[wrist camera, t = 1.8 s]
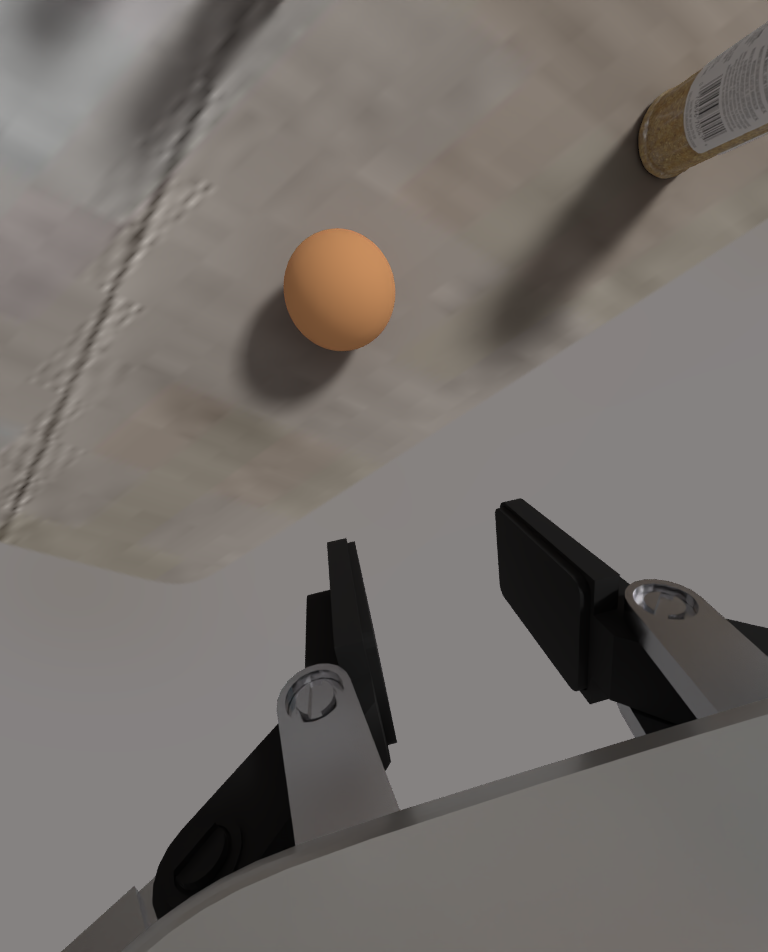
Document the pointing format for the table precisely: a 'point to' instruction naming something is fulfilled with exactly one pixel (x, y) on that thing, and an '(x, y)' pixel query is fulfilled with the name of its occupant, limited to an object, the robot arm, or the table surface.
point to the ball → (339, 289)
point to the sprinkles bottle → (709, 110)
